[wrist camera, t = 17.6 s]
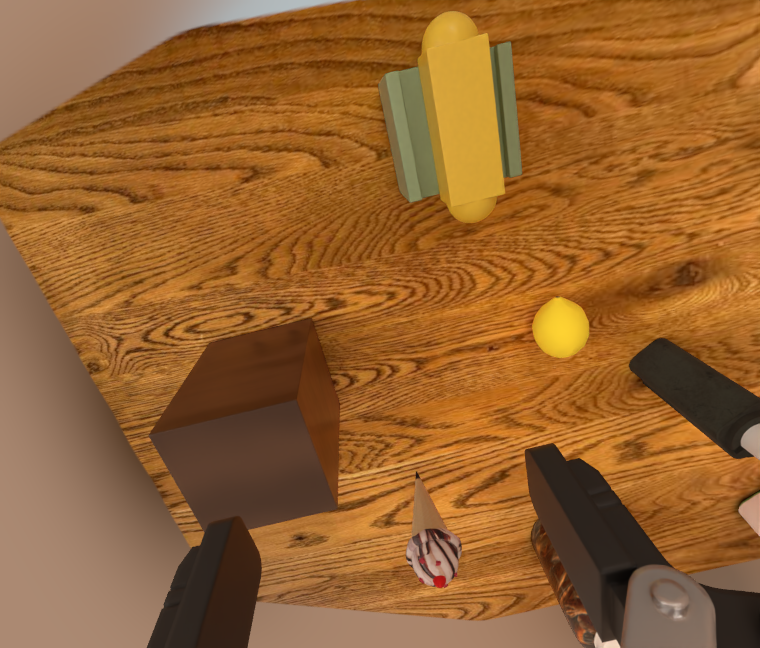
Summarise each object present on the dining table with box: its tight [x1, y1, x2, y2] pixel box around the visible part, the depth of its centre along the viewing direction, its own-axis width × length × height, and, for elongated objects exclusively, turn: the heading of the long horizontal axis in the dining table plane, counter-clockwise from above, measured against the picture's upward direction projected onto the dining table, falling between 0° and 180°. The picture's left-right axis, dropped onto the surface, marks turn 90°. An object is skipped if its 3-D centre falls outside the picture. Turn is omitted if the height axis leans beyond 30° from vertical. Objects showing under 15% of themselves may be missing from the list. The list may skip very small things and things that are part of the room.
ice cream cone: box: [406, 471, 462, 588], centre depth 46 cm, size 6×6×15 cm
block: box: [378, 42, 522, 202], centre depth 34 cm, size 9×9×7 cm
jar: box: [531, 519, 620, 648], centre depth 53 cm, size 12×12×15 cm
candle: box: [629, 338, 760, 460], centre depth 38 cm, size 5×5×25 cm
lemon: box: [532, 296, 589, 358], centre depth 43 cm, size 7×5×5 cm
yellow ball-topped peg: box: [417, 11, 505, 223], centre depth 30 cm, size 14×4×4 cm, turn 13°
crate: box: [149, 318, 340, 532], centre depth 39 cm, size 11×11×15 cm
